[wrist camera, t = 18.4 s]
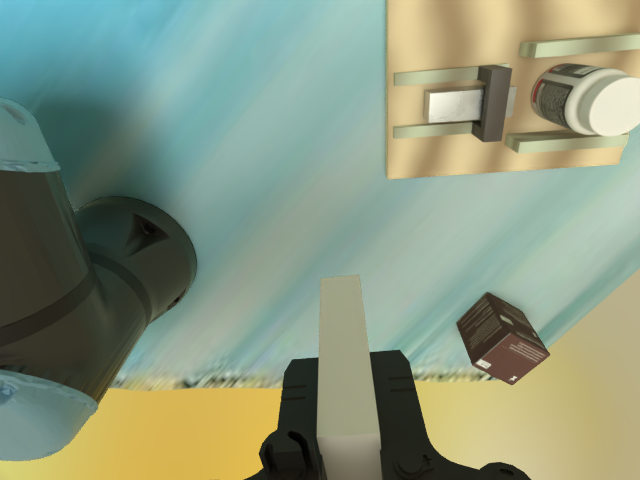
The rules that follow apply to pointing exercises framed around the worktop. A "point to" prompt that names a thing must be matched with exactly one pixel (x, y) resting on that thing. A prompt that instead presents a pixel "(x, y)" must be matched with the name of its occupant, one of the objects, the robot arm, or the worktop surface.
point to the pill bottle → (588, 99)
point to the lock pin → (459, 103)
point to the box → (500, 339)
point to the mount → (497, 80)
